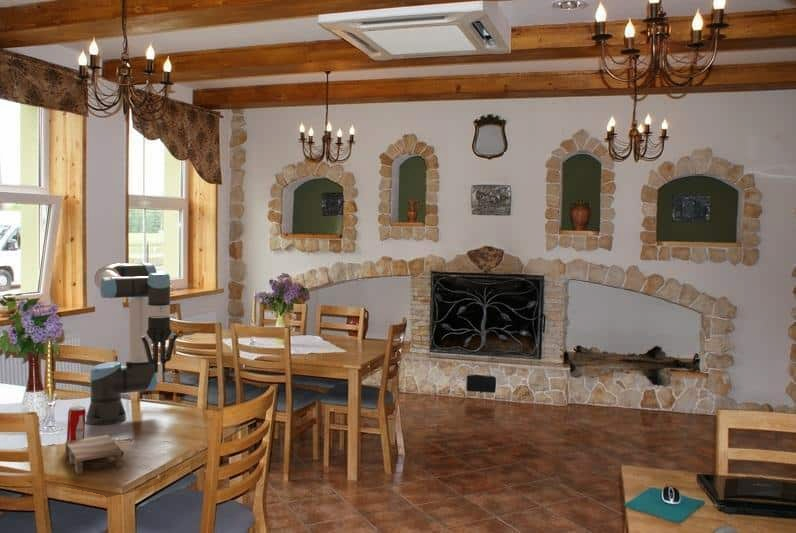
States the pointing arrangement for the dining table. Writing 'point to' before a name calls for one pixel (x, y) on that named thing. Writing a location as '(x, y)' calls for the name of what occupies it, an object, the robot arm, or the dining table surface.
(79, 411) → the beverage can
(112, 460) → the saucer
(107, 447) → the overhang shelf
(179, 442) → the dining table surface
